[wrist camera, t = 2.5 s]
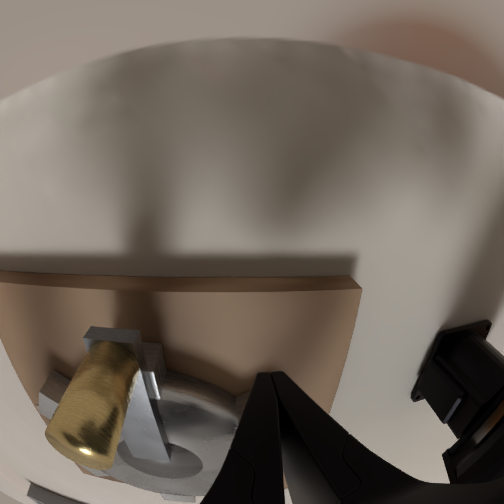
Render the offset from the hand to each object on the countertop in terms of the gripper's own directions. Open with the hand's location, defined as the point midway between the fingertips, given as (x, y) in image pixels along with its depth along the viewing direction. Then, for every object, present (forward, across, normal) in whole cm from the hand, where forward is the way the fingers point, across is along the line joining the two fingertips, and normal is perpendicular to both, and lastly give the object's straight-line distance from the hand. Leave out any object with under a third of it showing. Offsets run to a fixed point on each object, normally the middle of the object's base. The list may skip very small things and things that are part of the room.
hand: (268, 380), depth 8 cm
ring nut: (+4, +5, +8) cm, 10 cm away
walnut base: (+5, +5, +9) cm, 11 cm away
